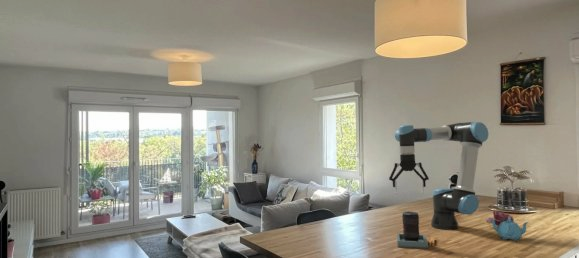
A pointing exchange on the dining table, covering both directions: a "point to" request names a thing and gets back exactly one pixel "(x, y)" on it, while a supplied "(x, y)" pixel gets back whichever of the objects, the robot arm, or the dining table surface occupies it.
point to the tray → (412, 242)
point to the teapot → (509, 229)
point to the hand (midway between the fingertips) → (409, 193)
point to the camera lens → (410, 226)
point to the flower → (499, 217)
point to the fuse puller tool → (432, 241)
